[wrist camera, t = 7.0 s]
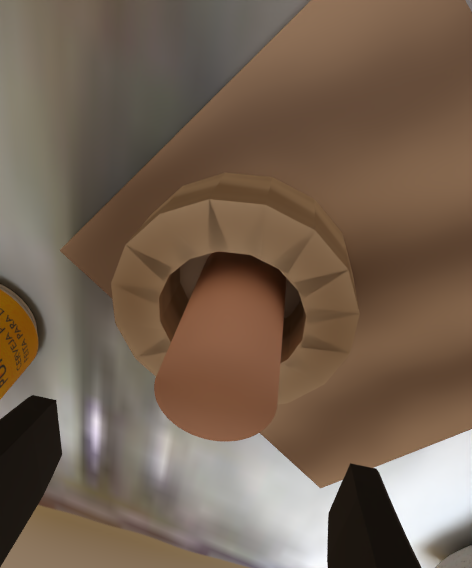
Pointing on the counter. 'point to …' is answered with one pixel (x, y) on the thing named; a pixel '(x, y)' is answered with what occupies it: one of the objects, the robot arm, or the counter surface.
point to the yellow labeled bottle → (15, 338)
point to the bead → (252, 241)
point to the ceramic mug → (458, 559)
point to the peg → (226, 351)
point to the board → (349, 211)
